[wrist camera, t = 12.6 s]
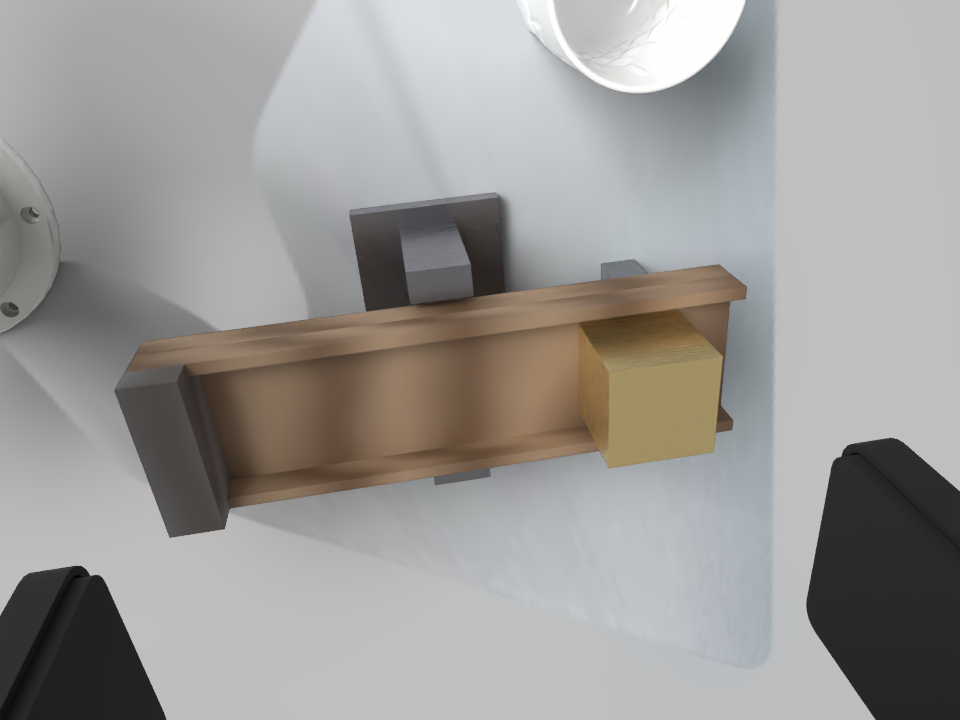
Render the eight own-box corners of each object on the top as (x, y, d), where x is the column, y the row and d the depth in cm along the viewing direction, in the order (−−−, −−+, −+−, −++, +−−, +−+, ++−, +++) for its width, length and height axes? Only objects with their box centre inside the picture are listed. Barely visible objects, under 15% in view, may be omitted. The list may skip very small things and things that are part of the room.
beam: (192, 470, 38) (169, 537, 34) (146, 335, 34) (114, 390, 30) (702, 393, 41) (745, 446, 36) (712, 259, 37) (762, 299, 32)
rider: (578, 323, 35) (609, 372, 31) (677, 309, 35) (722, 356, 31) (579, 410, 37) (608, 468, 33) (672, 396, 38) (713, 452, 33)
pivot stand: (386, 424, 46) (390, 505, 39) (349, 210, 39) (347, 260, 32) (510, 406, 47) (536, 482, 40) (495, 192, 40) (523, 238, 33)
